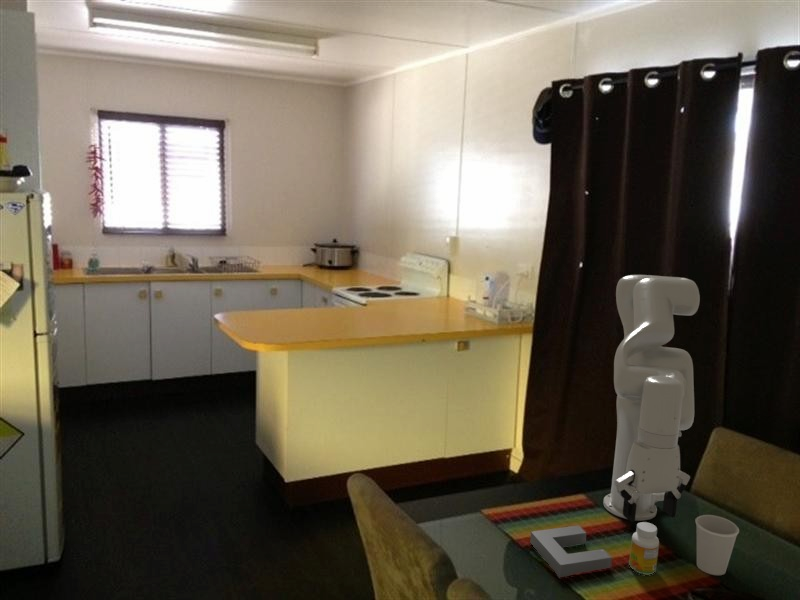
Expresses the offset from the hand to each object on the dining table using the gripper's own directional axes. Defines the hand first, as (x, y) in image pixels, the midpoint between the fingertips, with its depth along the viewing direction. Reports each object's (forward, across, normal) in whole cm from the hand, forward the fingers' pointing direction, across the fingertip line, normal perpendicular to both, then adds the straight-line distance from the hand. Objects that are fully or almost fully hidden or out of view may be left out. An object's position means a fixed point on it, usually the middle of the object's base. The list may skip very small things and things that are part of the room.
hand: (648, 516), depth 137 cm
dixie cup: (+12, -16, +2) cm, 20 cm away
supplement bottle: (+13, 0, -1) cm, 13 cm away
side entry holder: (+12, +12, -8) cm, 19 cm away
